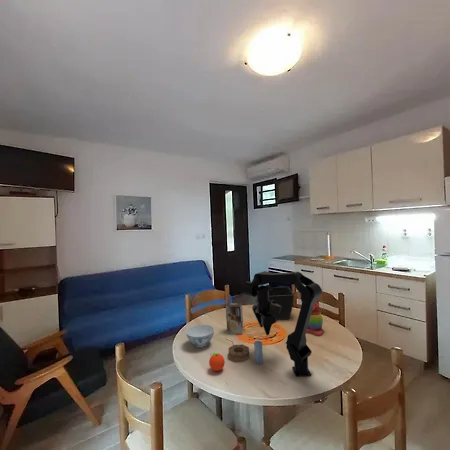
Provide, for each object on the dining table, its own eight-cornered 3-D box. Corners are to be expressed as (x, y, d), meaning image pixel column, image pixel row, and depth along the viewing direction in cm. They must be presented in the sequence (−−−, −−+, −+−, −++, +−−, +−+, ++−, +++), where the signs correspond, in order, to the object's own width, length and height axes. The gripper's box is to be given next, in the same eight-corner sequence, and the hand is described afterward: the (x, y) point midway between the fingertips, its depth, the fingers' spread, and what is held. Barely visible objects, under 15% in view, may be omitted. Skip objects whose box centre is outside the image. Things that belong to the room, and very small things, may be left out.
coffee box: (244, 329, 154) (242, 303, 154) (242, 334, 148) (240, 306, 148) (229, 328, 156) (227, 302, 156) (226, 333, 150) (225, 306, 150)
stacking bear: (301, 332, 147) (300, 301, 147) (308, 325, 155) (307, 296, 154) (320, 337, 140) (318, 304, 140) (326, 330, 148) (325, 299, 147)
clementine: (204, 369, 115) (203, 353, 115) (216, 362, 120) (215, 347, 120) (216, 376, 110) (216, 360, 109) (228, 369, 114) (227, 353, 114)
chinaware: (194, 354, 128) (193, 339, 128) (182, 343, 141) (181, 329, 140) (220, 345, 136) (219, 331, 136) (206, 335, 149) (205, 322, 149)
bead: (250, 361, 120) (249, 354, 120) (228, 361, 120) (228, 355, 120) (248, 350, 130) (248, 344, 130) (228, 350, 130) (228, 345, 130)
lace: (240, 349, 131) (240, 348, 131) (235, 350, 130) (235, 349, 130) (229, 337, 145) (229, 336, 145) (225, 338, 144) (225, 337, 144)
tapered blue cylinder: (263, 363, 117) (262, 344, 117) (255, 364, 117) (254, 344, 117) (262, 359, 121) (261, 340, 121) (254, 359, 121) (253, 340, 121)
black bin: (265, 322, 164) (264, 295, 163) (262, 311, 182) (260, 287, 182) (295, 321, 163) (294, 294, 162) (289, 310, 182) (287, 286, 181)
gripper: (286, 302, 115) (288, 337, 115) (272, 291, 133) (273, 321, 133) (262, 305, 113) (264, 340, 113) (251, 293, 131) (253, 324, 132)
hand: (264, 330), depth 123 cm, fingers open, 9 cm apart
